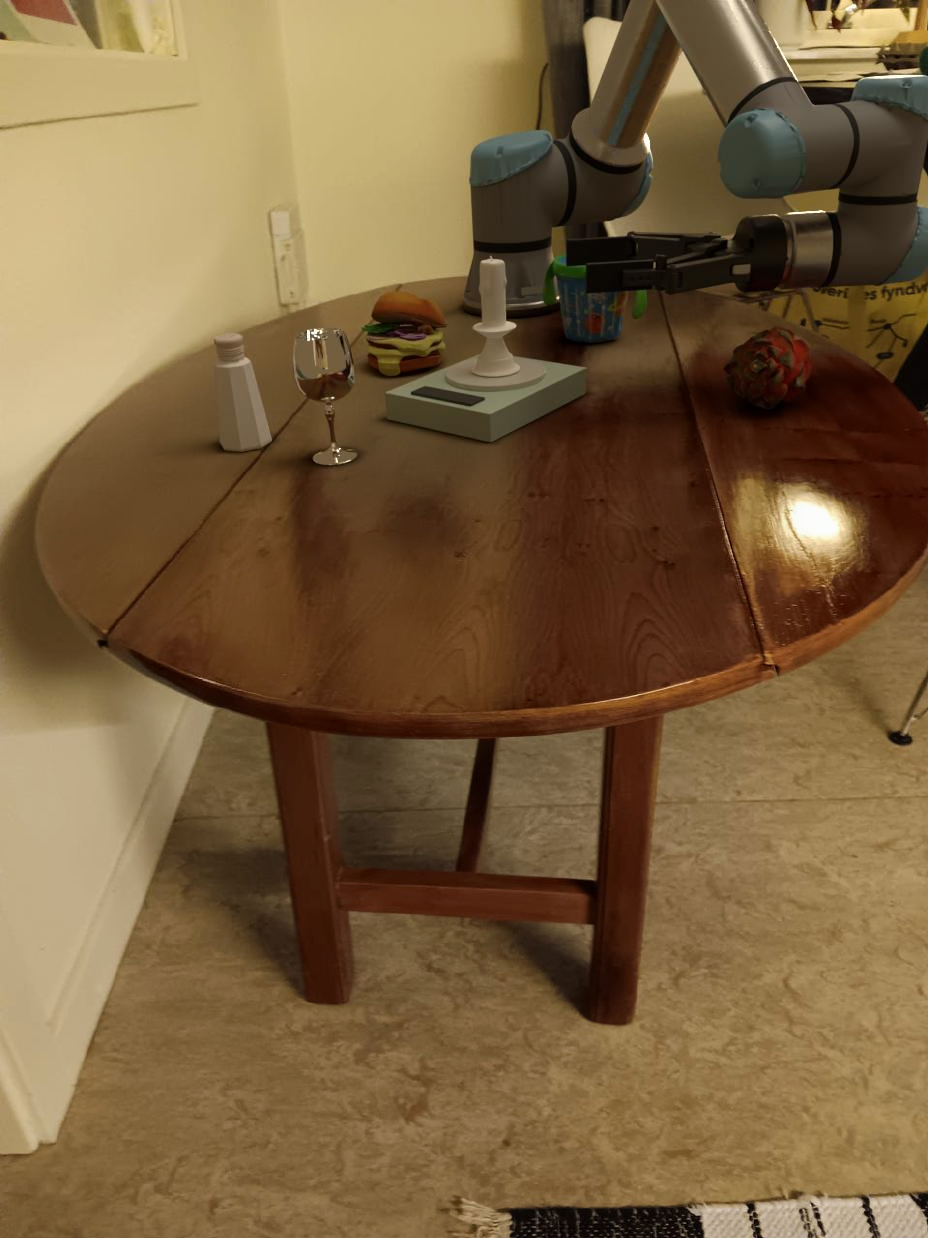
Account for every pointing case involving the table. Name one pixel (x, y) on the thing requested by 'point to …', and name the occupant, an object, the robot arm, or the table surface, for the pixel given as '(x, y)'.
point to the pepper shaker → (238, 398)
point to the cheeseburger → (404, 333)
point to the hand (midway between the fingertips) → (575, 264)
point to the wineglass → (325, 379)
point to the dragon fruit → (770, 368)
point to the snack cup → (587, 304)
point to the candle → (494, 322)
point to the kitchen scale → (485, 398)
